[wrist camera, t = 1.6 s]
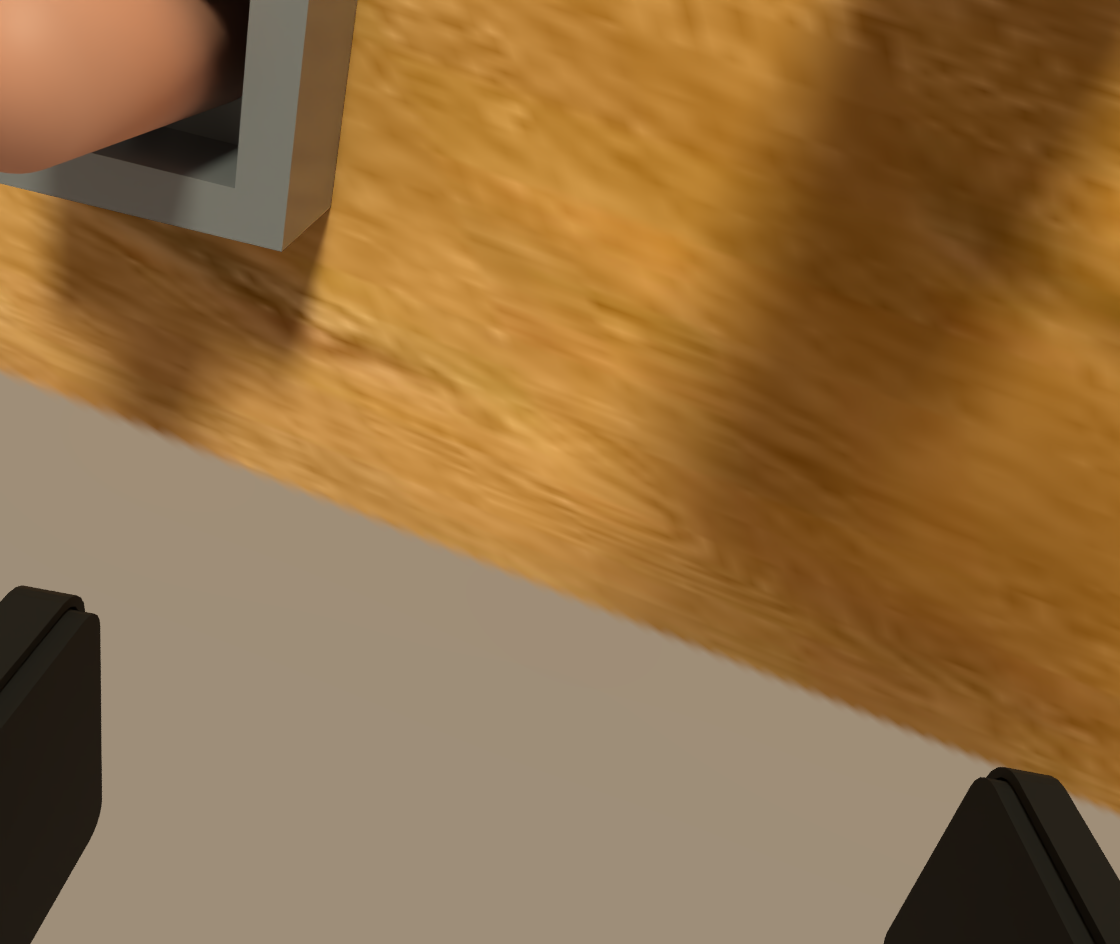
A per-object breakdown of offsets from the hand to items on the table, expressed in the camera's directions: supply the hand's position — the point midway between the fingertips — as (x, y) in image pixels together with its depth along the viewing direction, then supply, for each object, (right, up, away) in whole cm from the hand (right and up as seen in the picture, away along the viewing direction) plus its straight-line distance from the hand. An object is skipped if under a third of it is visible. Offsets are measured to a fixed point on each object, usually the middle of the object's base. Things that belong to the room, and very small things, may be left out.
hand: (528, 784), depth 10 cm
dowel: (-11, +17, +20) cm, 29 cm away
